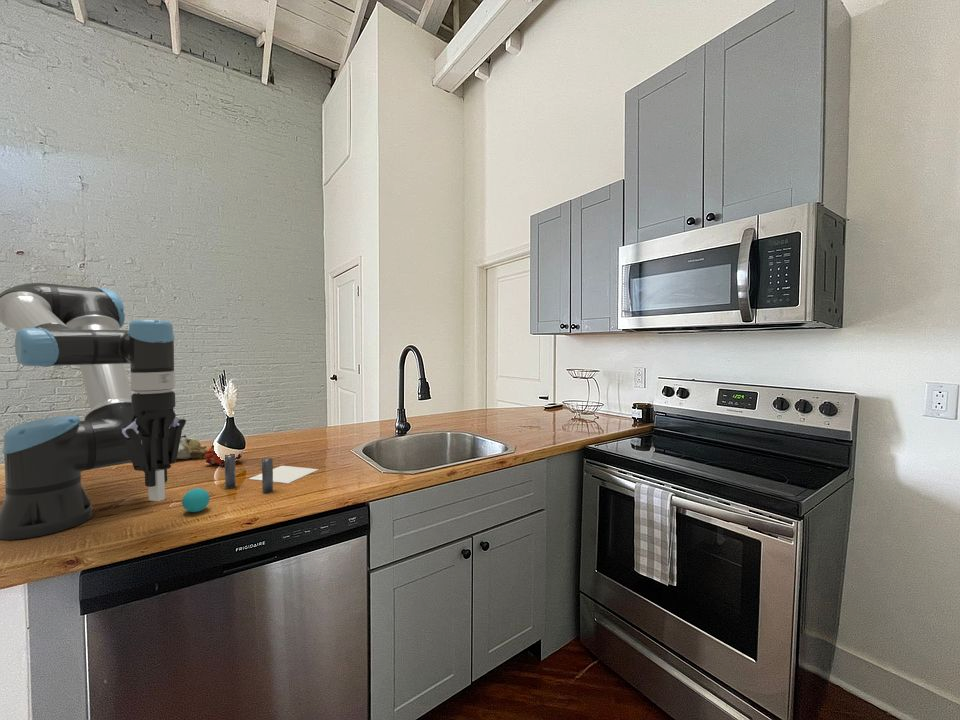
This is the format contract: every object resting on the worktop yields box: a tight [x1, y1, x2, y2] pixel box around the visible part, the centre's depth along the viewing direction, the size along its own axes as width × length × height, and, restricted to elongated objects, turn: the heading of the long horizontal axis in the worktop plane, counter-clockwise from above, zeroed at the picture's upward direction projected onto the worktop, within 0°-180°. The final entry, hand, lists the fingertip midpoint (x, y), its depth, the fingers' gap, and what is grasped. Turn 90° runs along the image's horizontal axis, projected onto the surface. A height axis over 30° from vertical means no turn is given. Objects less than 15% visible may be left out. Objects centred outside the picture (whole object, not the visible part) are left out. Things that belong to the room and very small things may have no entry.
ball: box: [181, 487, 211, 513], centre depth 102 cm, size 6×6×6 cm
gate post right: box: [261, 457, 274, 494], centre depth 115 cm, size 3×3×9 cm
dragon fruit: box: [200, 444, 242, 467], centre depth 141 cm, size 8×8×12 cm
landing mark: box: [248, 465, 319, 485], centre depth 131 cm, size 14×14×1 cm
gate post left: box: [224, 454, 237, 490], centre depth 119 cm, size 3×3×9 cm
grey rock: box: [176, 434, 208, 460], centre depth 148 cm, size 11×9×15 cm
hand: (156, 499), depth 92 cm, fingers closed
